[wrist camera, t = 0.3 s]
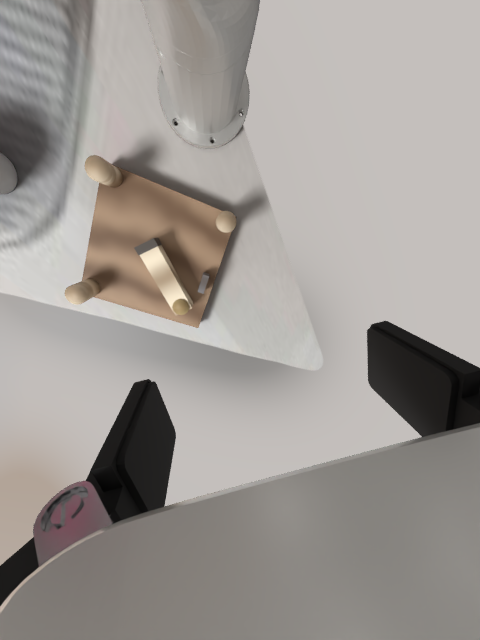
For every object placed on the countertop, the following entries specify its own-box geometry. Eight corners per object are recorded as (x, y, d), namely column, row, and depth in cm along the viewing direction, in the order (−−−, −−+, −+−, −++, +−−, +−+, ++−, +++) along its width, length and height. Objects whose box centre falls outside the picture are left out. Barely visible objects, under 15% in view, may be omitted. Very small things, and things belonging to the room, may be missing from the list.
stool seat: (198, 323, 46) (196, 339, 39) (87, 289, 42) (62, 301, 35) (235, 217, 41) (240, 215, 34) (110, 165, 36) (86, 149, 29)
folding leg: (194, 304, 42) (193, 309, 39) (178, 311, 42) (175, 318, 39) (157, 237, 38) (153, 238, 35) (139, 246, 38) (133, 247, 35)
